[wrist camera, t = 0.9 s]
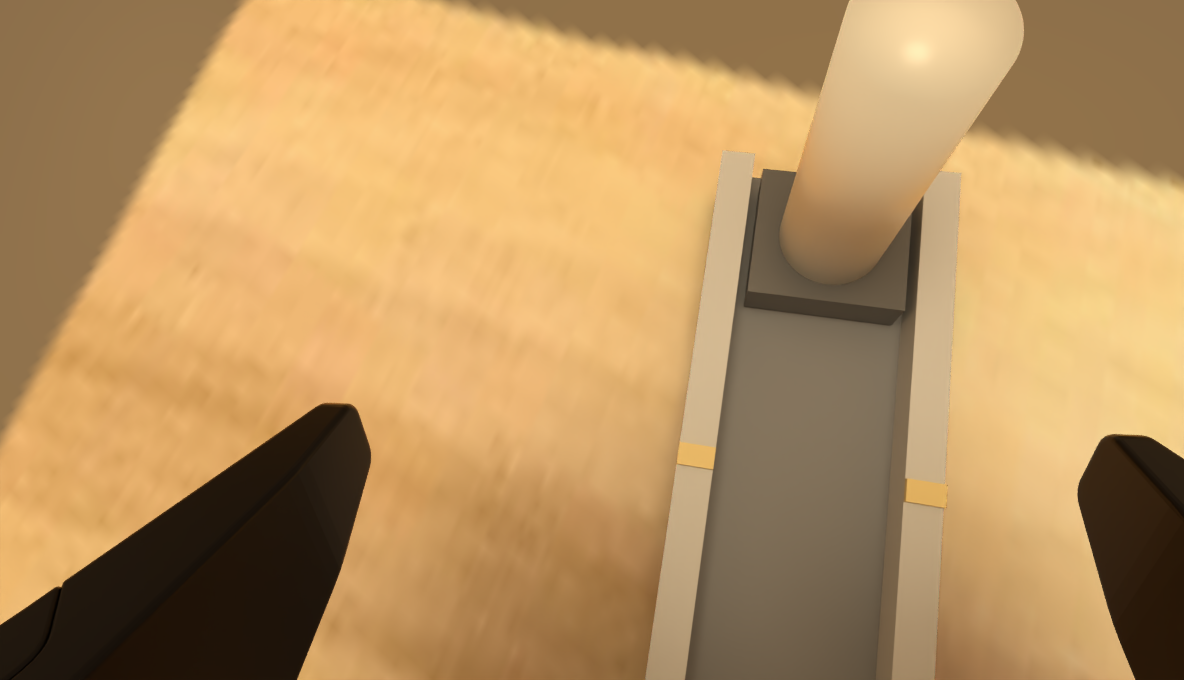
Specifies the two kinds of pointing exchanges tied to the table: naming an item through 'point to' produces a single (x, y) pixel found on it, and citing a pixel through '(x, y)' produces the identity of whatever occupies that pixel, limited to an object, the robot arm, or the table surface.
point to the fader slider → (875, 154)
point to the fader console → (809, 471)
